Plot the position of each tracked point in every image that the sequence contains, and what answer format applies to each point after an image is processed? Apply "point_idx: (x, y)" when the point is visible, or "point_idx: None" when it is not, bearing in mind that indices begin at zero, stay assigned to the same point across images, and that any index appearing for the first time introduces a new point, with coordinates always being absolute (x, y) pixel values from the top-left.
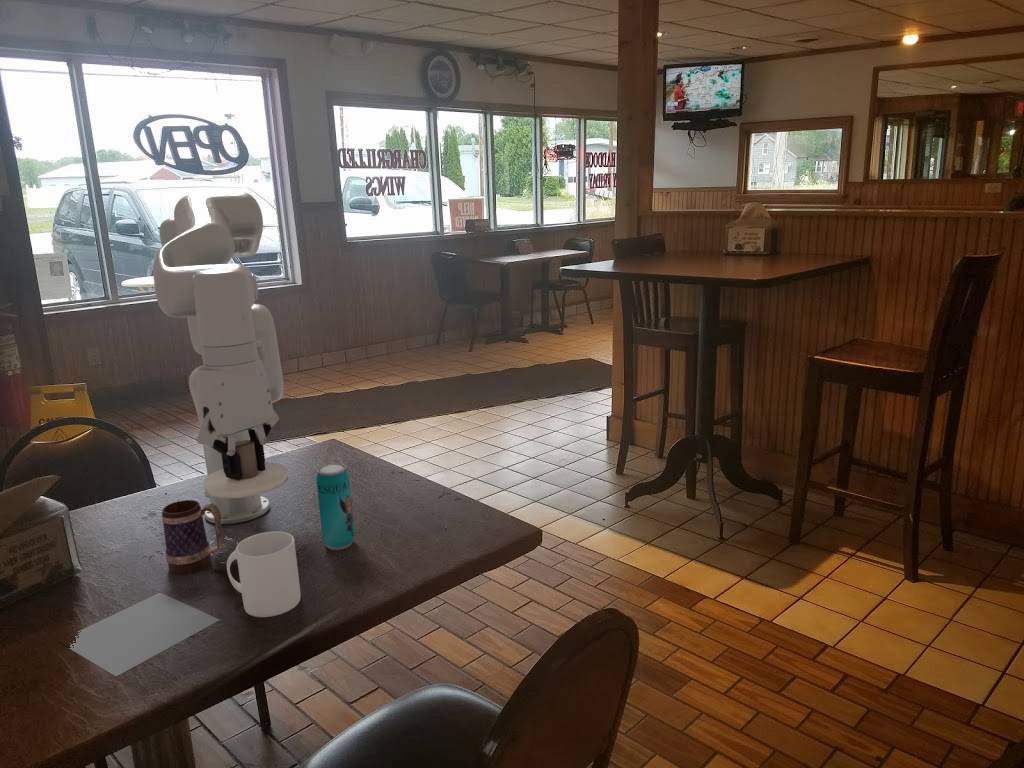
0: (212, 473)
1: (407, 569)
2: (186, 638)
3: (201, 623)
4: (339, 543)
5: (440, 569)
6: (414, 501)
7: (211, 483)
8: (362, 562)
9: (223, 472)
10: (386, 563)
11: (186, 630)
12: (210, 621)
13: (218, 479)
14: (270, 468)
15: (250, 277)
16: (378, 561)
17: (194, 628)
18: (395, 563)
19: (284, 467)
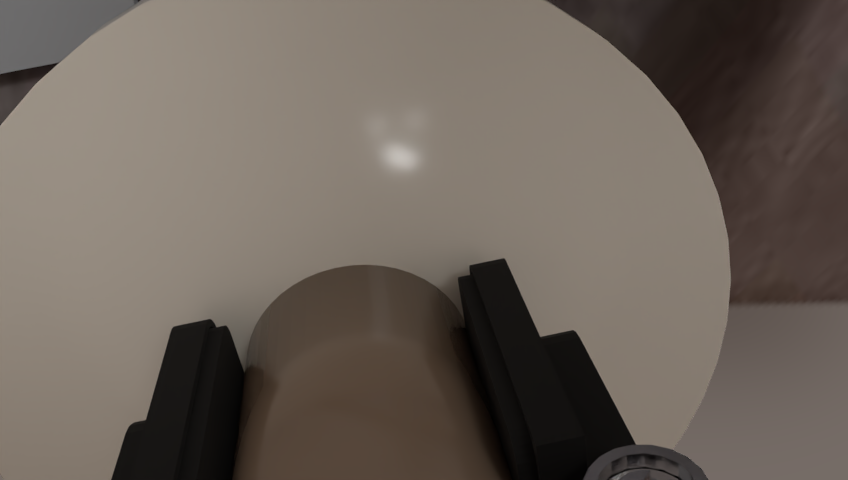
0: (111, 38)
1: (798, 205)
2: (3, 72)
3: (78, 15)
4: None
5: (845, 279)
6: None
7: (14, 328)
8: (766, 37)
9: (226, 114)
10: (801, 115)
11: (13, 19)
12: None
13: (107, 277)
14: (599, 356)
15: None
16: (800, 79)
17: (45, 28)
18: (815, 140)
19: (680, 414)
